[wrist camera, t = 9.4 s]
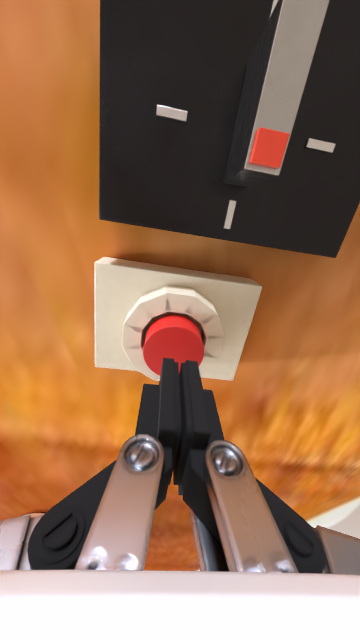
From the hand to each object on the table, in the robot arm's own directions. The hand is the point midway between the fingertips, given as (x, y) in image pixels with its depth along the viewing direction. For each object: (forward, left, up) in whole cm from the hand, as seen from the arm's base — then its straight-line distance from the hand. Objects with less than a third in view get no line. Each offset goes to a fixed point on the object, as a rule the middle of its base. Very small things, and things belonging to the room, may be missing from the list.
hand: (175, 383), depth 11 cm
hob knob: (+2, +12, -5) cm, 13 cm away
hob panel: (+2, +12, -8) cm, 14 cm away
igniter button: (0, 0, -4) cm, 4 cm away
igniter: (0, 0, -8) cm, 8 cm away
